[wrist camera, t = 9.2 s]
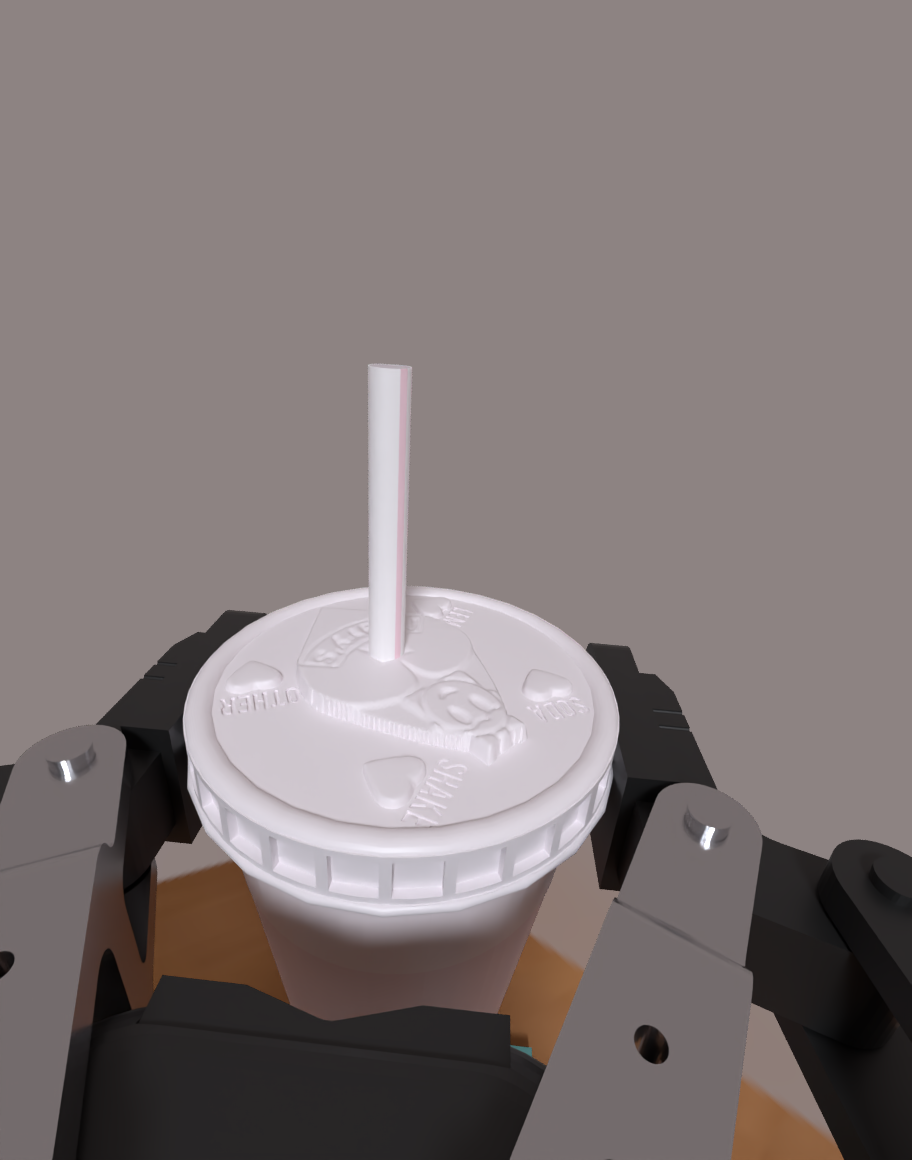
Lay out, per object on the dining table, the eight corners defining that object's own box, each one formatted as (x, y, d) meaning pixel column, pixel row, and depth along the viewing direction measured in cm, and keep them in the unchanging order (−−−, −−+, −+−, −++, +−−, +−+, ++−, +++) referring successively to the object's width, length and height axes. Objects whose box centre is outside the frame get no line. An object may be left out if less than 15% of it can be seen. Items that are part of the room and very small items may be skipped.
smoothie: (413, 856, 17) (436, 348, 11) (598, 1040, 13) (796, 397, 7) (193, 1021, 13) (33, 345, 7) (366, 1371, 9) (354, 469, 3)
